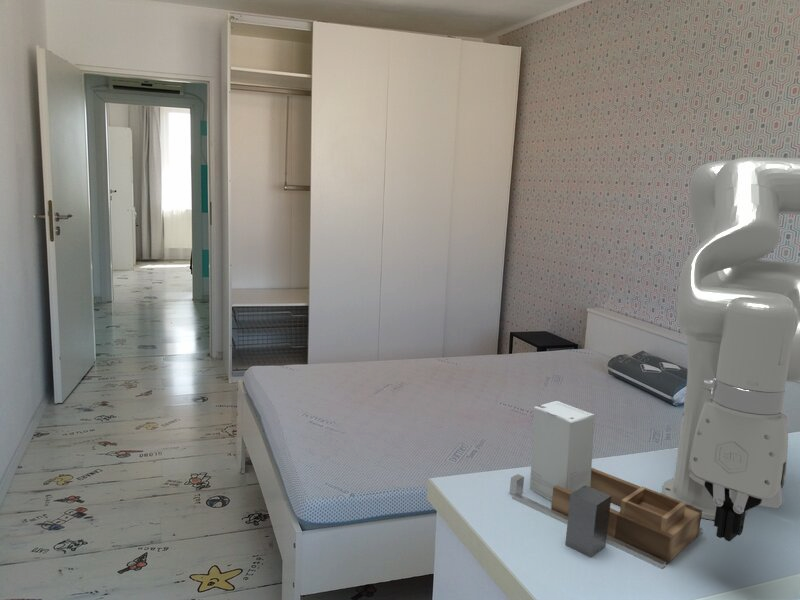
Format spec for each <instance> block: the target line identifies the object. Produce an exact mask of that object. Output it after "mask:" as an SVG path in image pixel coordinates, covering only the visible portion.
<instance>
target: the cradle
mask: <svg viewBox="0 0 800 600" xmlns="http://www.w3.org/2000/svg"><path fill="white" fill-rule="evenodd" d="M590 487H591V488H593V489H596V490H598V491H601V492H603V493H606V494H608V495H610V496H611V503H612V504H613V505H616V506H619V507H620V511H618V510H616V509H613V508H611V507H610V512H609V521H608V529H607V535H609V536H611V537H613V538H615V539H618V540H620V541H622V542H624V543H626V544H629V545H631V546H633V547H635V548H637V549H639V550H642V551H644V552H646V553H648V554H650V555H652V556H655V557H657V558H659V559H661V560H663V561H665V562H666V565H668V564H669V563H670V562H671V561H673V559H675V558H676V557H677V556H678V555H679V554H680V553H681V552H682V551H683V550H684V549H686V548H687V547H688V546H689V545H690V544H691V543H692V542H693V541H694V540H695V539H696V538H697V537H699V529H700V527H701V523H702V522H701V521H702V518H701V516H702V510H700V509H697V508H694V507H692V506H689V505H687V504H686V503H684V502H681V501H679V500H676V499H674V498H671V497H668V496H666V495H663V494H662V492H661V493H660V492H658V491H655V490H653V489H649V488H647V487H646V486H640V485H637V484H635V483H632V482H630V481H627V480H624V479H622V478H619V477H617V476H616V475H615V476H614V475H611V474H609V473H607V472H604V471H601V470H598V469H596V468H594V467H591V483H590ZM571 493H573V492H572V491H569V490H567V489H565V488H562V487H560V486H558V485H556V486H554V487H553V495H552V501H551V507H550V509H553V510H555V511H557V512H559V513H561V514H563V515H566V516H568V514H569V504H570V495H571ZM666 565H665V566H666Z"/></svg>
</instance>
